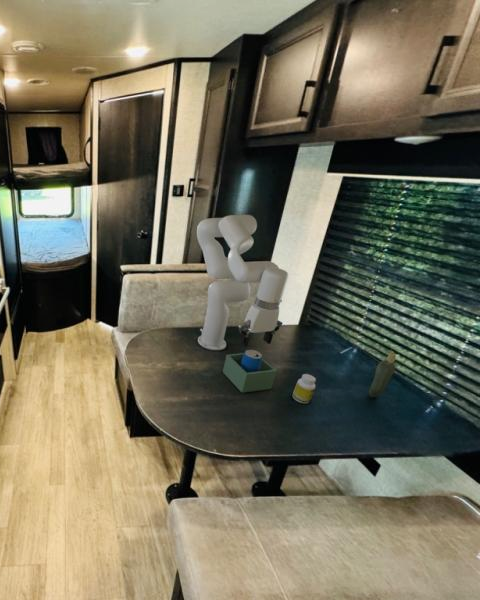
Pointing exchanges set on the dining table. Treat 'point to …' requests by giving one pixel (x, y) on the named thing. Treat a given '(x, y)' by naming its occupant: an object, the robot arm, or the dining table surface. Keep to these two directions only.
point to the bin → (248, 374)
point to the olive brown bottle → (382, 375)
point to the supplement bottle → (304, 389)
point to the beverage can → (251, 361)
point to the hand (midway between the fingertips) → (255, 343)
